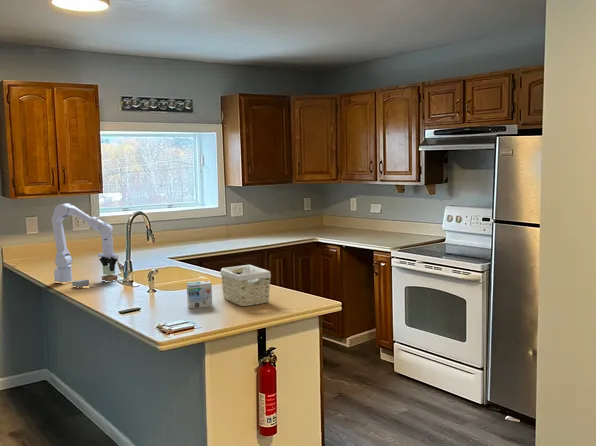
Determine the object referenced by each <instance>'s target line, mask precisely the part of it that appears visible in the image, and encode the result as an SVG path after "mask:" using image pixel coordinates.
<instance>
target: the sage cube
mask: <svg viewBox="0 0 596 446" xmlns="http://www.w3.org/2000/svg"><path fill="white" fill-rule="evenodd" d="M102 274H103V275H104V276H105V275H111V274H112V275H116V267H115V268H114V271H110V267H109V264H108V265H107V266H103V265H102Z"/></svg>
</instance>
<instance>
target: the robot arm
mask: <svg viewBox="0 0 596 446" xmlns="http://www.w3.org/2000/svg"><path fill="white" fill-rule="evenodd" d="M68 216H75V217H77V218H79V219H81V220H83V221H85V222H87V224H88V227H90V228H92V229H94V230H96V231H97V232H99V233H100V235H101V246H102V247H101V249H102V252H100V253H98V255H97V257H98V258H99V261H100V263H101V265H102V267H103V266H107V265H109V267H110V271H114V268H115V269H116V263H117V261H118V259H119V254H117V253H115V252H114V240H113V232H114V227H113V226H112V225H111V224H110V223H107V222H106V221H103V220H101V219H99V218H100V217H98V216H90V215H88V214H87V213H85V212H84V211H82V210H81V209H79V208H78V207H77V206H76V205H72V204H71V203H68V202H65V203H62V204H61V203H59V204H58V205H57V206H56V207H55V208H54V209H53V214H52V216H51V224H52V230H53V236H54V241H55V246H56V254H55V265H56V266H57V267H56V268H55V269H54V271H53V276H54V282H55V281H58V282H68V281H73V273H72V272H73V269H72V263H73V257H72V255H71V253H70V251H69V249H68V247H67V246H68V245H67V240H66V235H65V229H64V223H63V221H64V220H65V218H67V217H68Z"/></svg>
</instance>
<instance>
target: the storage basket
mask: <svg viewBox="0 0 596 446" xmlns="http://www.w3.org/2000/svg"><path fill="white" fill-rule="evenodd" d="M238 273H239V274H238ZM220 276H221V286H222V295H223V298H224V299H225V300H227V301H229V302H231V303H233V304H236V305H238V306H240V307H249V306H254V305H260V304H266V303H269V302H270V289H271V288H270V287H271V286H270V285H271V284H270V283H271V277H272V274H271V271H270V270H267V269H265V268H261V267H258V266H255V265H252V264H245V265H236V266H228V267H222V268H221V269H220Z"/></svg>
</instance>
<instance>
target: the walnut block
mask: <svg viewBox="0 0 596 446" xmlns="http://www.w3.org/2000/svg"><path fill="white" fill-rule="evenodd" d="M117 279H118V275H116V274H111V275H105V274H104V275H101V281H102V280H105V281H113V280H117ZM118 280H119V279H118Z"/></svg>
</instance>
